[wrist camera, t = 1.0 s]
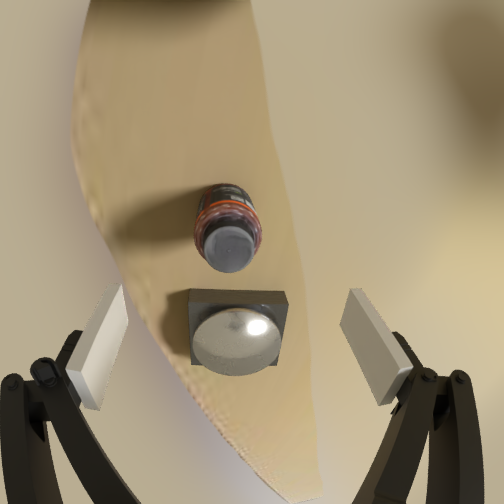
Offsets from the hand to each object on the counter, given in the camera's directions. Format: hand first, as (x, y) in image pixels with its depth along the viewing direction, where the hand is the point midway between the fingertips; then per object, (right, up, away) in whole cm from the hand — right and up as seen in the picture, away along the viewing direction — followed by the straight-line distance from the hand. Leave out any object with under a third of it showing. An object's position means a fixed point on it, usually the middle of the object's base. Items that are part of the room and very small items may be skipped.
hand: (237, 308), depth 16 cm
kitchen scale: (-1, -7, +23) cm, 24 cm away
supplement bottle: (-2, +8, +17) cm, 19 cm away
